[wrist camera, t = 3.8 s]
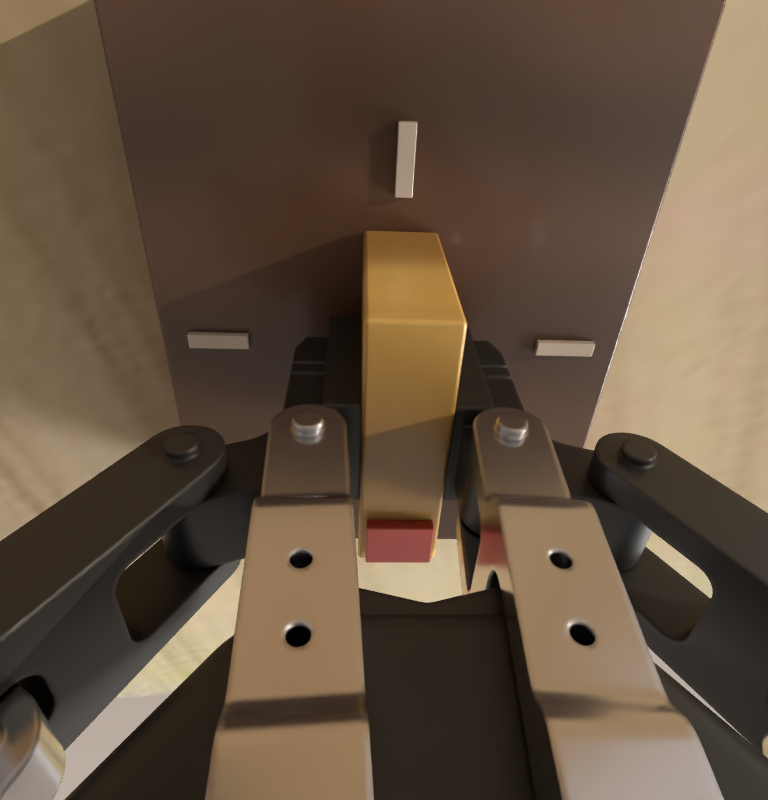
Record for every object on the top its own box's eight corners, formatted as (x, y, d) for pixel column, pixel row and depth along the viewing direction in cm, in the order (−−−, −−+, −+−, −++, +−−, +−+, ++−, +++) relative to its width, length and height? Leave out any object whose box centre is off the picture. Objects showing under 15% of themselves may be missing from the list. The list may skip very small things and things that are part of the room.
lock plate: (142, -29, 12) (80, -38, 9) (656, -1, 12) (734, -2, 10) (223, 472, 20) (202, 543, 17) (532, 476, 20) (557, 544, 18)
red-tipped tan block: (363, 228, 12) (363, 327, 8) (438, 231, 12) (471, 330, 8) (358, 433, 15) (357, 569, 11) (418, 434, 15) (435, 569, 12)
